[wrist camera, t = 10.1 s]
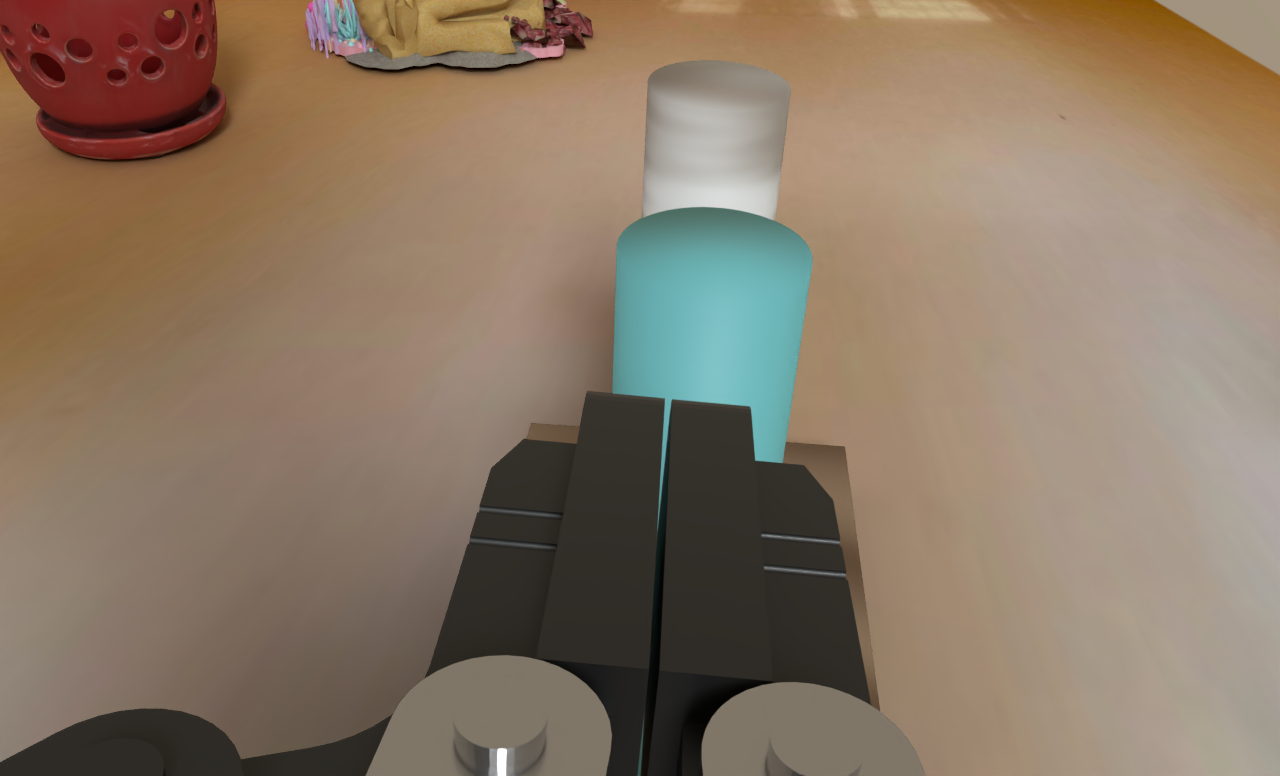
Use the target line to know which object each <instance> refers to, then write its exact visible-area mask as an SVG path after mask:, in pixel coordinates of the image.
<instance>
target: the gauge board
mask: <svg viewBox="0 0 1280 776" xmlns="http://www.w3.org/2000/svg"><path fill="white" fill-rule="evenodd" d="M790 94H791V88H790V85H789V84H788V82H787V81H786V80H785V79H783V78H782V77H781V76H779V75H777V74H775V73H773V72H771V71H768V70H766V69H763V68H759V67H756V66H752V65H748V64H742V63H736V62H728V61H713V60H702V61H688V62H680V63H675V64H671V65H668V66H664V67H662V68H659V69H658V70H656V71H654V72H653V73H652V74H651V75H650V76H649V79H648V91H647V113H646V135H645V156H644V178H643V200H642V218H644V217H646V216H648V215H651V214H655V213H658V212H662V211H666V210H671V209H678V208H689V207H716V208H727V209H733V210H740V211H744V212H749V213H753V214H756V215H760V216H763V217H766V218H769V219H771V220H774V221H775V216H776V208H777V200H778V192H779V183H780V175H781V167H782V159H783V151H784V143H785V135H786V127H787V118H788V110H789V102H790ZM579 429H580V427H576V426H562V425H549V424H536V423H531V425H530V429H529V433H528V437H527V439H531V440H542V441H552V442H563V443H574V444H577V439H578V434H579ZM783 463H787V464H798V465H804V466H805V467H806V468H807V469H808V470H809V472H810V473H811V474H812V475H813V476H814V478H815V479H816V480H817V481H818V482H819V484H820V485H821V486H822V487H823V488H824V490H825V491H826V492H827V493H828V494H829V496H830V497H831V498H832V499H833V502H834V507H835V512H836V518H837V523H838V528H839V534H840V546H841V547H842V550H843V555H844V561H845V566H846V580H848V582H849V588H850V593H851V598H852V604H853V609H854V615H855V620H856V625H857V631H858V636H859V642H860V647H861V652H862V658H863V663H864V668H865V674H866V679H867V685H868V690H869V695H870V701H871V706H872V707H874V708H875V709H877V710H878V711H880V707H879V699H878V692H877V684H876V677H875V669H874V662H873V654H872V647H871V639H870V632H869V624H868V617H867V609H866V602H865V594H864V587H863V579H862V572H861V564H860V557H859V549H858V542H857V534H856V527H855V519H854V512H853V504H852V497H851V489H850V482H849V475H848V467H847V460H846V452H845V447H843V446H830V445H816V444H803V443H790V442H786V444H785V451H784V457H783Z"/></svg>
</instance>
